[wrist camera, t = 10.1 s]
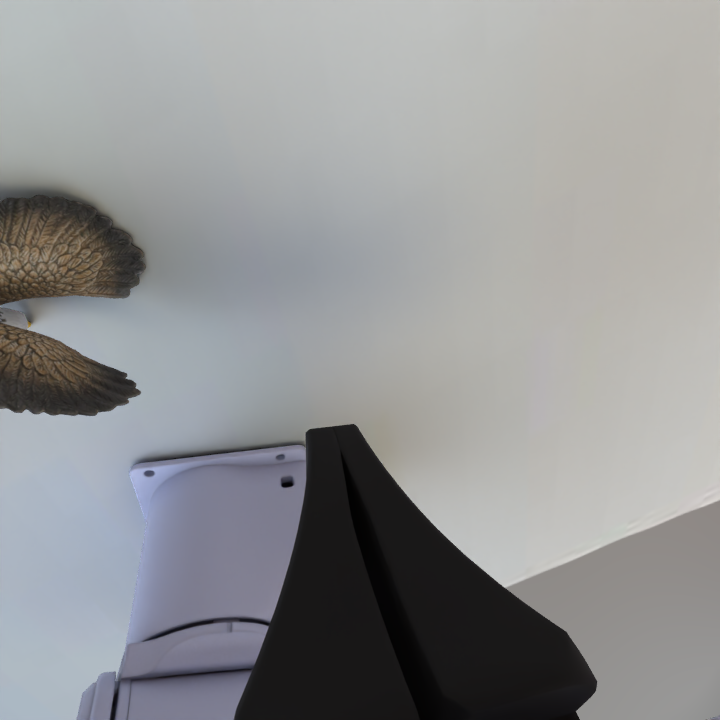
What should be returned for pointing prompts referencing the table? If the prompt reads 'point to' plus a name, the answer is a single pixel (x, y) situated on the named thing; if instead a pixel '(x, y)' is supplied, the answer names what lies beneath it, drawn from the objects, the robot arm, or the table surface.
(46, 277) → the eagle figurine
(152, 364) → the table surface
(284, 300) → the table surface
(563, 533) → the table surface
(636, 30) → the table surface
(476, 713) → the robot arm
